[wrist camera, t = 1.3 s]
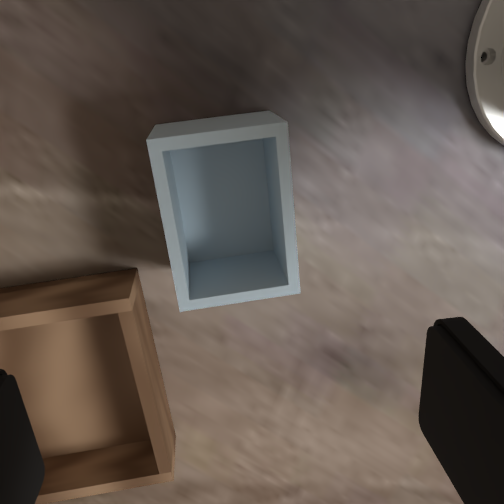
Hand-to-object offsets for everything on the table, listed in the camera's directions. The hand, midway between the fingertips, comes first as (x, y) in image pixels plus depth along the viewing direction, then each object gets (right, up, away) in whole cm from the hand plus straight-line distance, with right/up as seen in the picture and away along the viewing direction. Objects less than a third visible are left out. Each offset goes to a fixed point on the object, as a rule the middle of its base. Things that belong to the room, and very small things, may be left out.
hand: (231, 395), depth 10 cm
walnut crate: (-15, -5, +20) cm, 26 cm away
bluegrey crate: (-1, +7, +17) cm, 19 cm away
